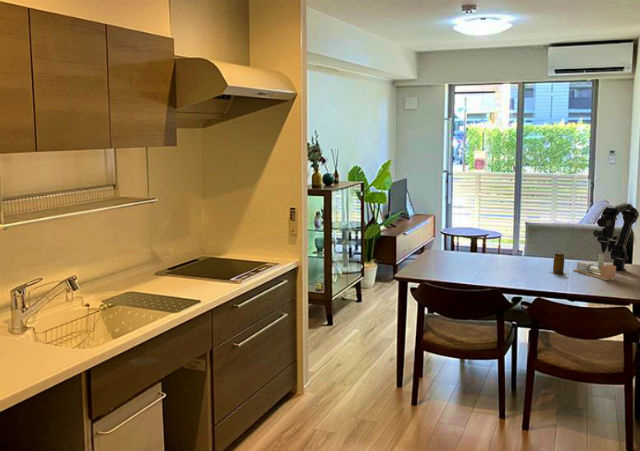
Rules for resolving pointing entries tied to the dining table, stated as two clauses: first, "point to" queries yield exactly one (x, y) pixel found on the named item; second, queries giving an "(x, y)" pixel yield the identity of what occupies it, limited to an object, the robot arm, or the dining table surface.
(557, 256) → the condiment
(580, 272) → the base rail
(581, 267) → the sleeve
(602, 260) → the beige cradle bracket
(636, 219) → the robot arm
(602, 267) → the socket
